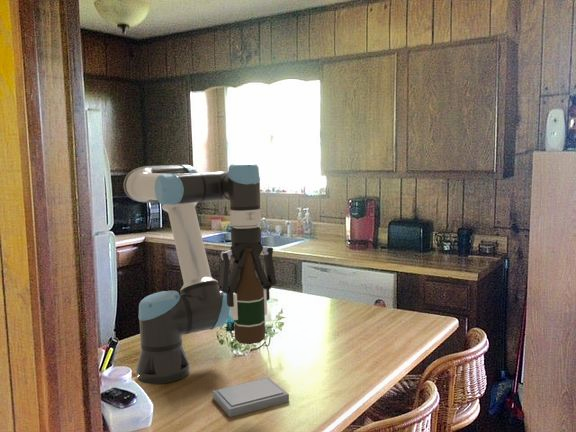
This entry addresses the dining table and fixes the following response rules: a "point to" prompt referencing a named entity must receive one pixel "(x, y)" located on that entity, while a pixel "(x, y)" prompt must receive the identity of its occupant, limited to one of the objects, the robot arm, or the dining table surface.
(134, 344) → the dining table surface
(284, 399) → the slate stand
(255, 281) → the beer bottle
